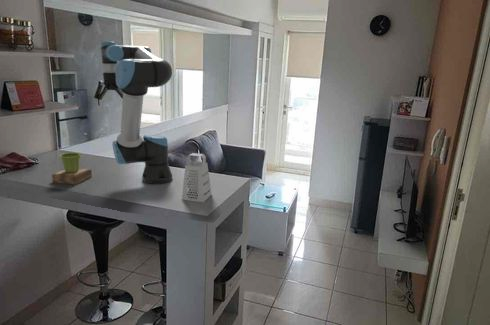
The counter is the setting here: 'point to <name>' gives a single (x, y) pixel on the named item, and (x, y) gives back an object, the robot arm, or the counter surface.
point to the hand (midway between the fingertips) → (113, 112)
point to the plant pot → (70, 162)
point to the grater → (196, 179)
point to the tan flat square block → (72, 176)
